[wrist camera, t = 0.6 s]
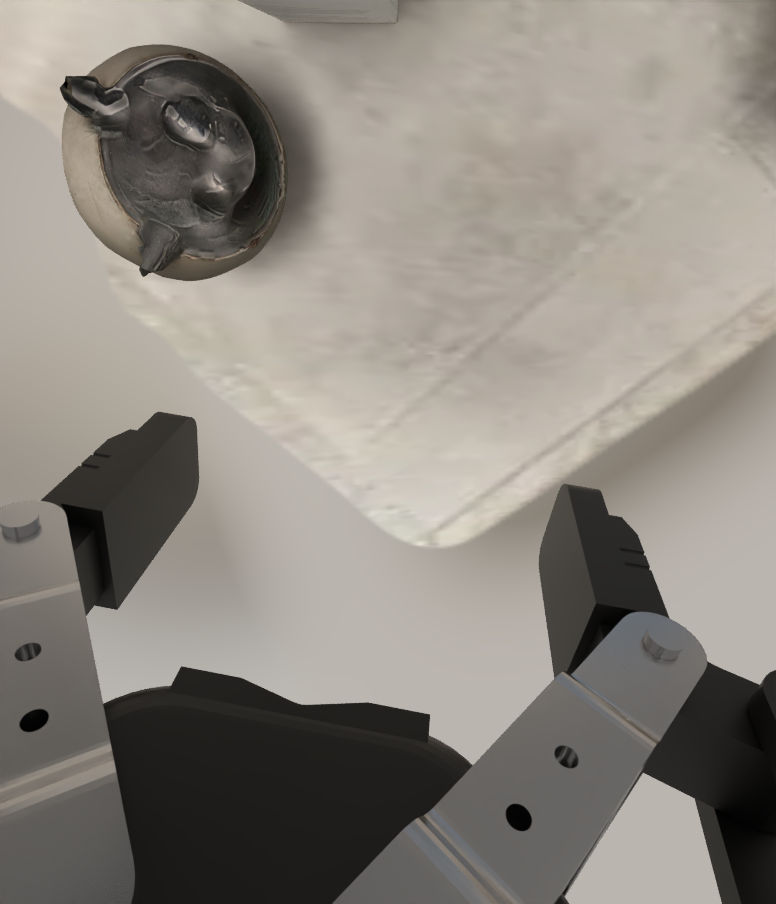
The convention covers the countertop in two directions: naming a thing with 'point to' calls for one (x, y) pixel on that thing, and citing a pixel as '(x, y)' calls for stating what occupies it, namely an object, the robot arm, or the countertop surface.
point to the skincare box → (329, 10)
